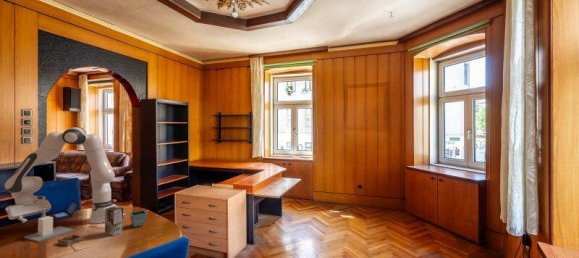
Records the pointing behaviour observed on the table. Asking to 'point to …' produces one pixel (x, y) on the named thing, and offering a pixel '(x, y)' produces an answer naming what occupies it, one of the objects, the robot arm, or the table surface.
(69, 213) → the handheld game console
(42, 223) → the cream block
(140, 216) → the flower pot
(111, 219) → the coffee box
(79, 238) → the walnut pocket
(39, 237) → the slate board
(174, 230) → the table surface
